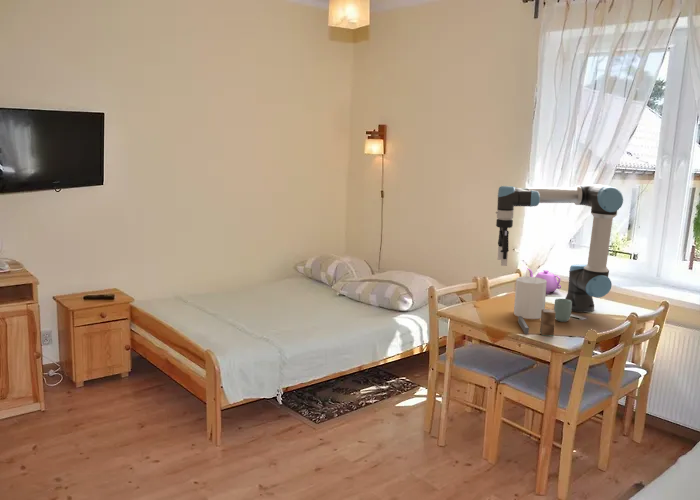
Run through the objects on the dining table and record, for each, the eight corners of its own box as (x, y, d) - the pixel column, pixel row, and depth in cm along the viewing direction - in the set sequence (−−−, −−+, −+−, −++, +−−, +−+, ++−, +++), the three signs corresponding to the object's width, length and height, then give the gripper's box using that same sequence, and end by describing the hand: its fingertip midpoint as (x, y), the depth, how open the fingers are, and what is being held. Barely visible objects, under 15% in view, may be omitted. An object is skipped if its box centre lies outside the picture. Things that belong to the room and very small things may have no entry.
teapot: (521, 291, 351) (523, 269, 349) (530, 286, 362) (531, 265, 360) (556, 296, 340) (558, 274, 337) (564, 291, 351) (566, 270, 349)
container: (517, 309, 315) (519, 275, 312) (546, 313, 309) (548, 278, 305) (511, 316, 302) (513, 281, 299) (541, 321, 296) (544, 284, 293)
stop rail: (521, 322, 293) (521, 316, 293) (528, 334, 276) (528, 327, 275) (517, 321, 293) (518, 315, 293) (525, 334, 276) (525, 327, 275)
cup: (550, 318, 300) (552, 298, 298) (566, 318, 301) (567, 298, 299) (557, 323, 292) (559, 303, 290) (573, 323, 293) (574, 302, 291)
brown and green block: (551, 332, 278) (552, 309, 276) (553, 336, 273) (555, 312, 271) (539, 332, 279) (541, 309, 277) (542, 335, 274) (544, 312, 272)
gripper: (493, 215, 303) (491, 257, 307) (499, 222, 279) (497, 267, 283) (509, 215, 302) (506, 257, 306) (516, 222, 278) (513, 268, 282)
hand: (502, 262), depth 295 cm, fingers open, 13 cm apart
